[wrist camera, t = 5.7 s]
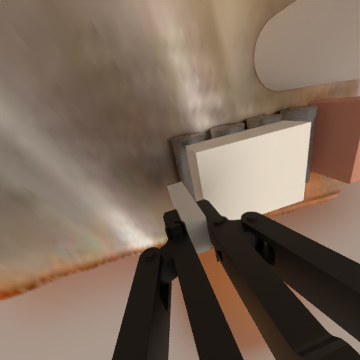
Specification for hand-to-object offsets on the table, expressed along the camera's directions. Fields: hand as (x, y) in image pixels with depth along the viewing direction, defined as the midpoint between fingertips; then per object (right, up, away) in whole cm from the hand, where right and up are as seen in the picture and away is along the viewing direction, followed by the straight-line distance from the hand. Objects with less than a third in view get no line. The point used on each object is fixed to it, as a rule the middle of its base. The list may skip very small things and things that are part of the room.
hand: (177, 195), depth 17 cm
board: (+7, +3, +4) cm, 9 cm away
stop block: (+21, +8, +9) cm, 24 cm away
